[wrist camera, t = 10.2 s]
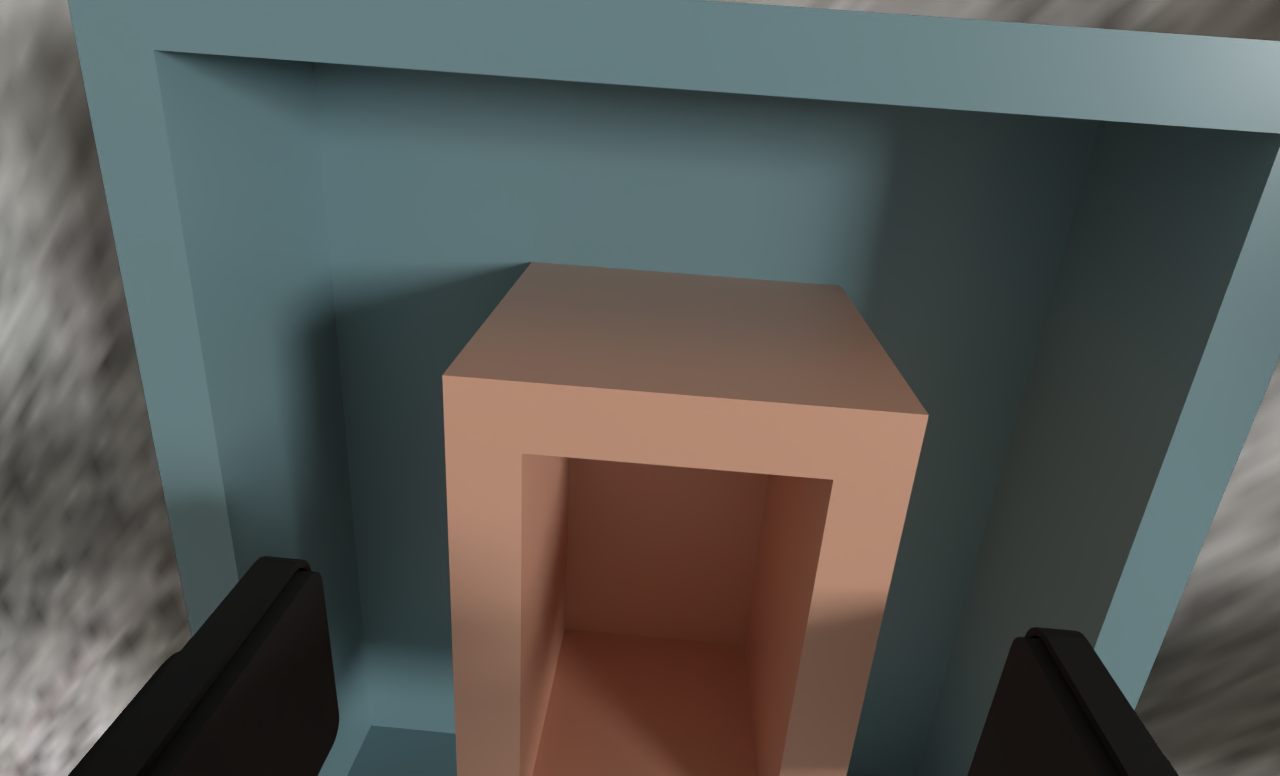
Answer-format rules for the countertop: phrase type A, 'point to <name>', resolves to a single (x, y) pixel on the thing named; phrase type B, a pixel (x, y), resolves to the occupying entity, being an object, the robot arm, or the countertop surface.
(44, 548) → the countertop surface
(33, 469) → the countertop surface
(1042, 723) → the robot arm
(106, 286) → the countertop surface
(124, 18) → the big crate
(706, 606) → the small crate
